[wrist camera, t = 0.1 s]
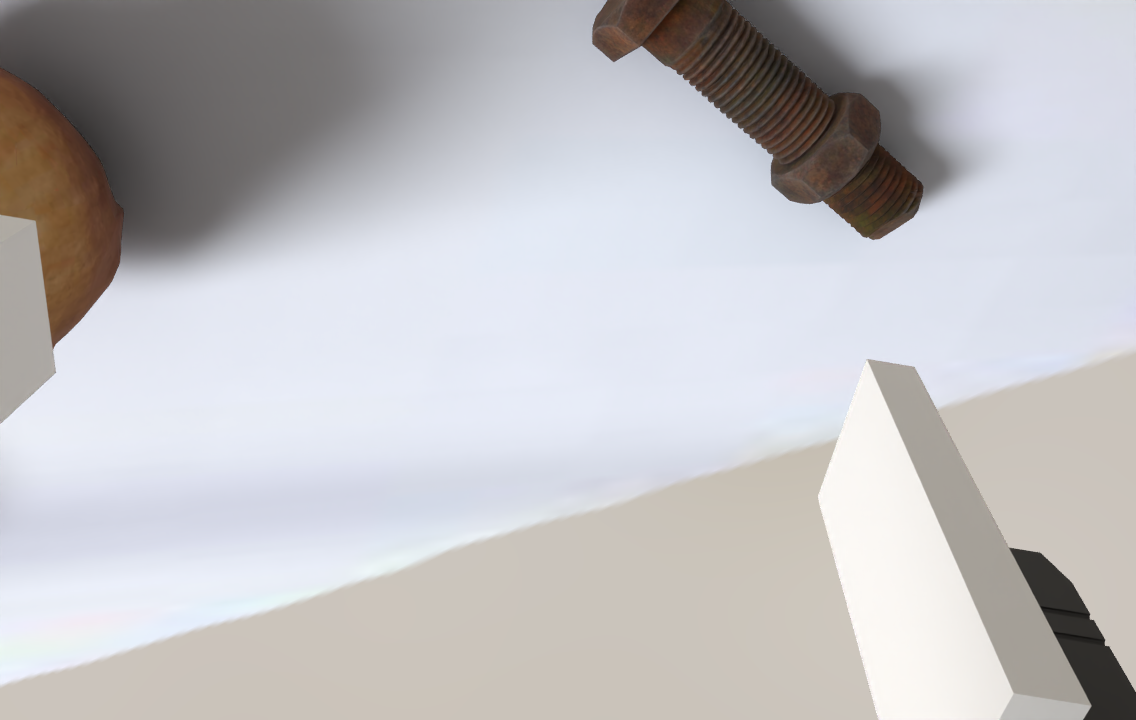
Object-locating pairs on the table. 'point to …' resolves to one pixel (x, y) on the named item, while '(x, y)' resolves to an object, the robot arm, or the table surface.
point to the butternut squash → (58, 201)
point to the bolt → (772, 107)
